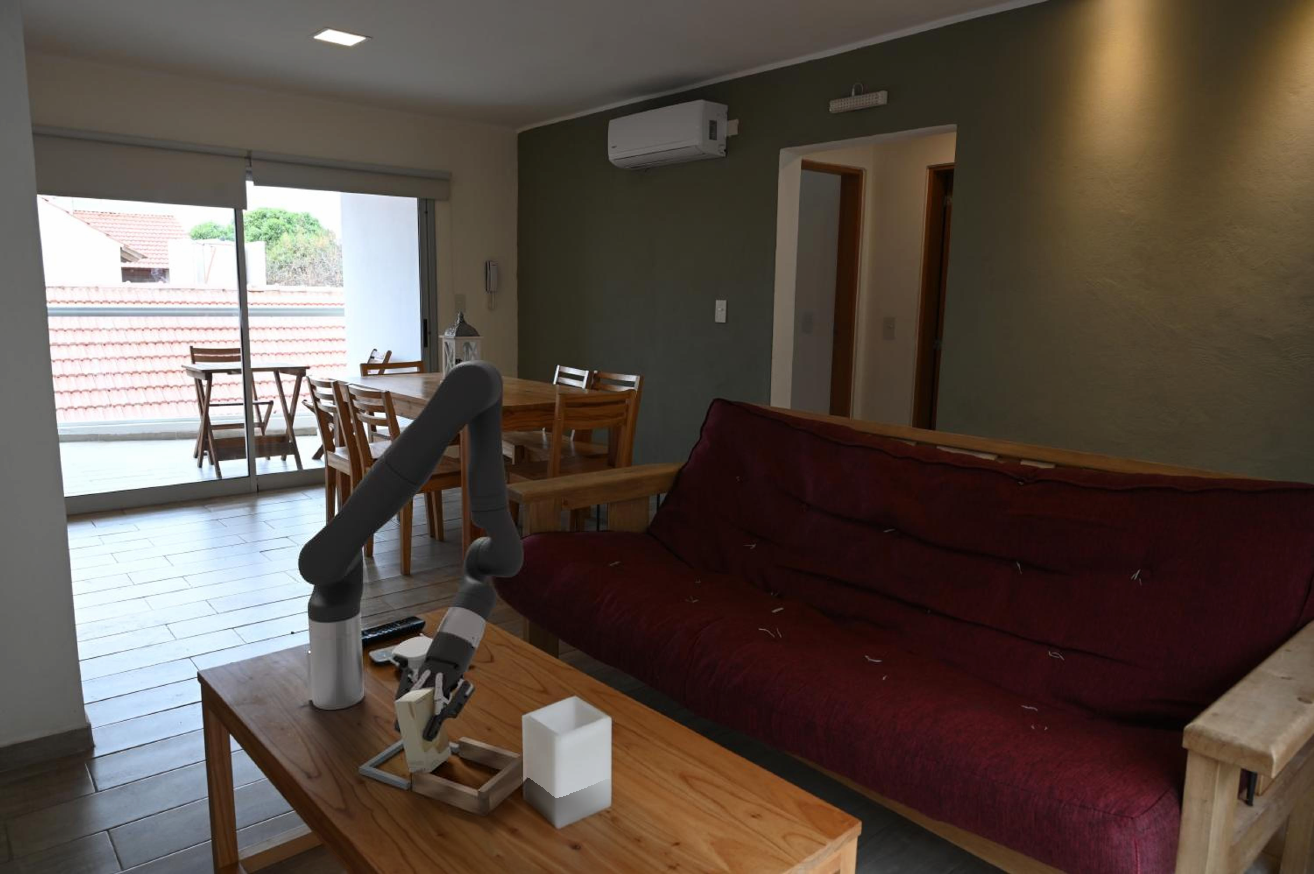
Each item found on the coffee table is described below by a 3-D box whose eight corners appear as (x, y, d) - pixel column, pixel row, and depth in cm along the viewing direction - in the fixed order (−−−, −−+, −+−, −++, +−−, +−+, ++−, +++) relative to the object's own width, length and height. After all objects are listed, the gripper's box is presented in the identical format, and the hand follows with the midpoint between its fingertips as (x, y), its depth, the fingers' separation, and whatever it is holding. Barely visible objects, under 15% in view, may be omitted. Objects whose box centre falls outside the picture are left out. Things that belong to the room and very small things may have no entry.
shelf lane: (412, 790, 132) (411, 767, 131) (463, 752, 143) (462, 731, 142) (484, 816, 126) (484, 792, 125) (531, 774, 137) (531, 752, 136)
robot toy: (476, 666, 177) (417, 648, 183) (477, 646, 176) (418, 629, 182) (440, 691, 166) (379, 671, 171) (441, 670, 165) (380, 651, 170)
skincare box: (429, 774, 135) (412, 702, 133) (408, 773, 136) (391, 702, 135) (453, 753, 140) (437, 684, 139) (433, 753, 142) (417, 685, 141)
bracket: (359, 772, 136) (358, 767, 136) (414, 735, 148) (414, 730, 147) (406, 789, 132) (406, 784, 132) (459, 750, 143) (459, 744, 143)
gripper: (413, 623, 145) (366, 718, 136) (481, 637, 139) (436, 737, 130) (434, 641, 151) (390, 734, 142) (500, 655, 145) (459, 753, 136)
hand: (412, 735), depth 136 cm, fingers closed on skincare box, 5 cm apart
